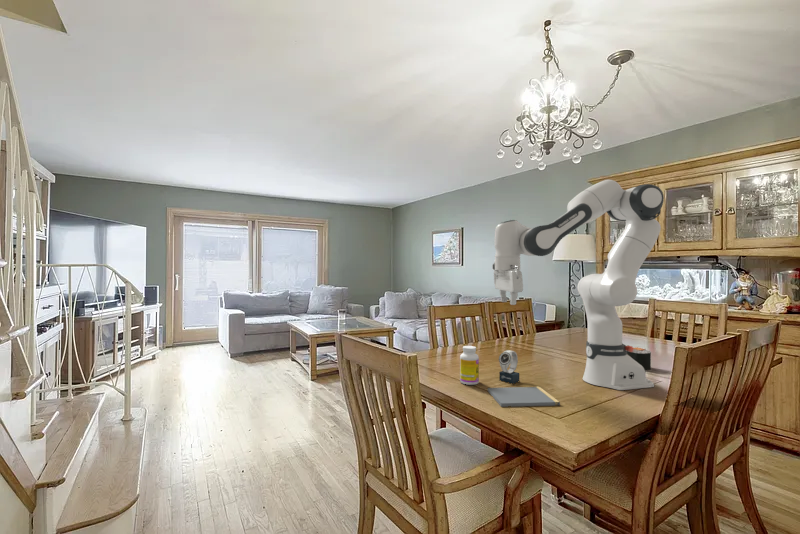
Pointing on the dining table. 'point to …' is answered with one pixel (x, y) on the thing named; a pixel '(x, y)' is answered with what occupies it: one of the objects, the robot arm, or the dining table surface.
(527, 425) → the dining table surface
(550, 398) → the grey flat slab
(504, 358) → the watch
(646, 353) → the sushi
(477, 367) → the supplement bottle
